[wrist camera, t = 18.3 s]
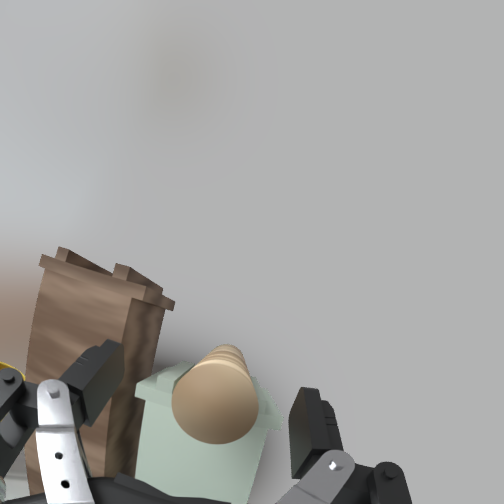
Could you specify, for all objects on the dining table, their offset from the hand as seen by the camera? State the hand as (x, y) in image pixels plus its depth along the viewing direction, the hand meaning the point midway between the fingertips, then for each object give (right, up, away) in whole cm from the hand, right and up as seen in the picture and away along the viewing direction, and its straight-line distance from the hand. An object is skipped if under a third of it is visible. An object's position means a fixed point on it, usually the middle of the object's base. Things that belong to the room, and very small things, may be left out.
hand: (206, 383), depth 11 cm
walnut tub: (-19, -26, +8) cm, 33 cm away
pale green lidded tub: (-6, -28, +8) cm, 30 cm away
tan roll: (-1, -7, +11) cm, 13 cm away
